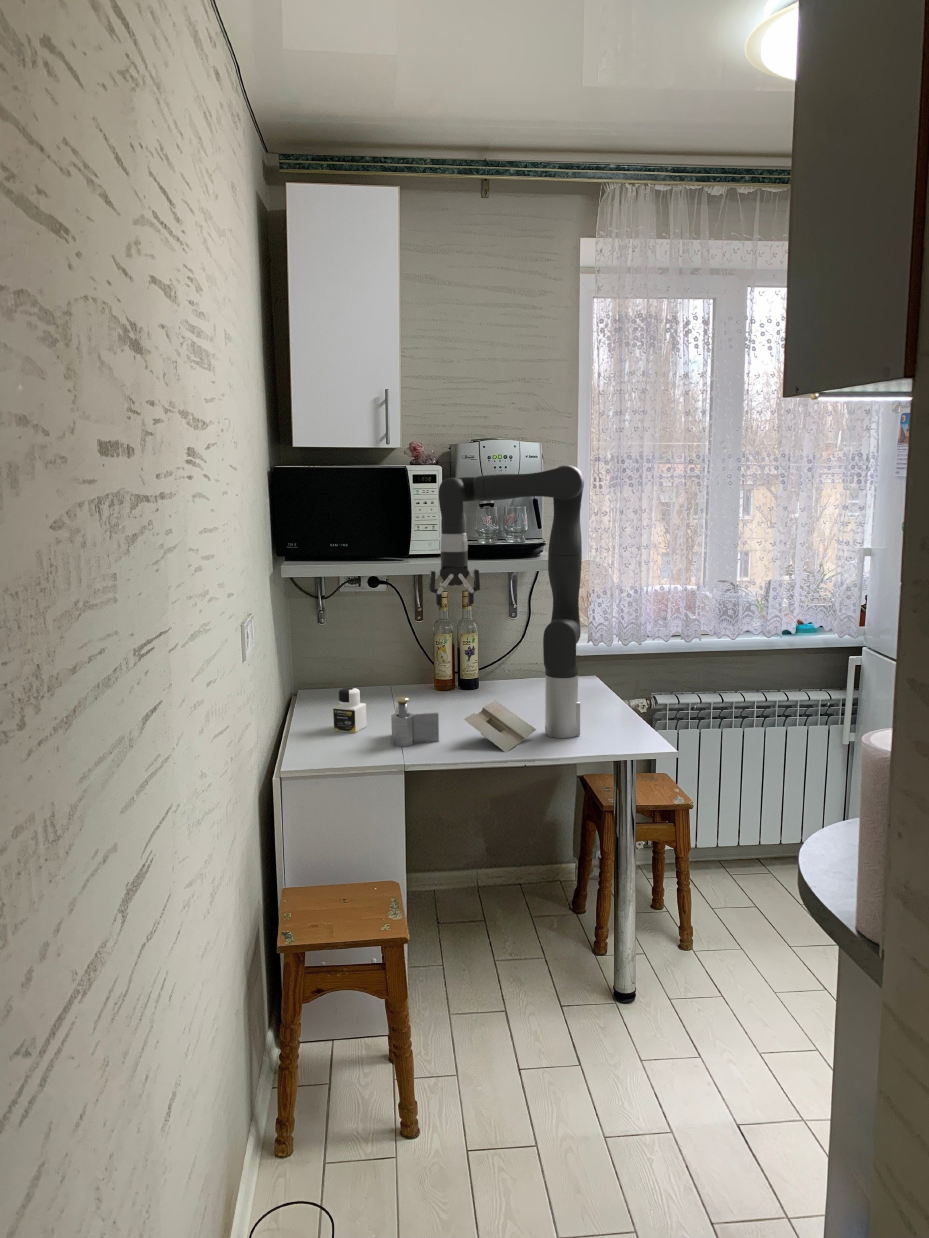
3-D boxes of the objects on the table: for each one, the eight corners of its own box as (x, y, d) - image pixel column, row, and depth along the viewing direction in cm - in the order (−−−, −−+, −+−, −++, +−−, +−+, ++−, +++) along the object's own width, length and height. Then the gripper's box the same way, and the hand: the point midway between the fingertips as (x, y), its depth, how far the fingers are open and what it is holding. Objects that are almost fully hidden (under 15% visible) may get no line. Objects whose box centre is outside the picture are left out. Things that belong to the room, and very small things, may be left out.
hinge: (432, 731, 264) (431, 704, 263) (440, 743, 252) (440, 715, 250) (387, 734, 261) (387, 706, 260) (393, 747, 249) (393, 718, 248)
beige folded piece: (523, 746, 262) (488, 708, 266) (538, 729, 256) (502, 690, 260) (490, 770, 249) (453, 730, 253) (505, 752, 244) (468, 711, 248)
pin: (408, 741, 254) (407, 696, 252) (410, 744, 251) (409, 699, 249) (396, 742, 254) (395, 697, 252) (398, 745, 251) (397, 700, 248)
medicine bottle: (333, 731, 265) (332, 690, 263) (345, 724, 272) (344, 685, 270) (355, 733, 263) (354, 692, 261) (366, 726, 269) (365, 687, 267)
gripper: (475, 547, 262) (476, 603, 265) (426, 549, 259) (427, 605, 262) (481, 549, 255) (482, 607, 258) (431, 551, 252) (432, 609, 255)
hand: (454, 606), depth 260 cm, fingers open, 8 cm apart
